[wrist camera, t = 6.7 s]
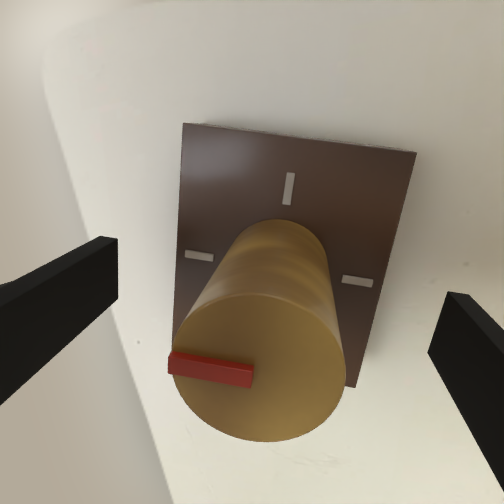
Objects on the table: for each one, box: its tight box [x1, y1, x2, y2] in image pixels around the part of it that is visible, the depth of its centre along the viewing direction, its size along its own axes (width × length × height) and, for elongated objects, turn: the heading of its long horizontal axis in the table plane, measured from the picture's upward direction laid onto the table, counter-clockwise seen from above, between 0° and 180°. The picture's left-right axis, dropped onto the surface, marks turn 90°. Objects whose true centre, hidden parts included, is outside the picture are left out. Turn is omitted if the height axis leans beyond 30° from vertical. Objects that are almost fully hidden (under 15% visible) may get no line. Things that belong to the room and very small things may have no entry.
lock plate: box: [172, 123, 417, 388], centre depth 19 cm, size 12×10×3 cm
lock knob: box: [168, 219, 346, 442], centre depth 13 cm, size 5×5×8 cm
